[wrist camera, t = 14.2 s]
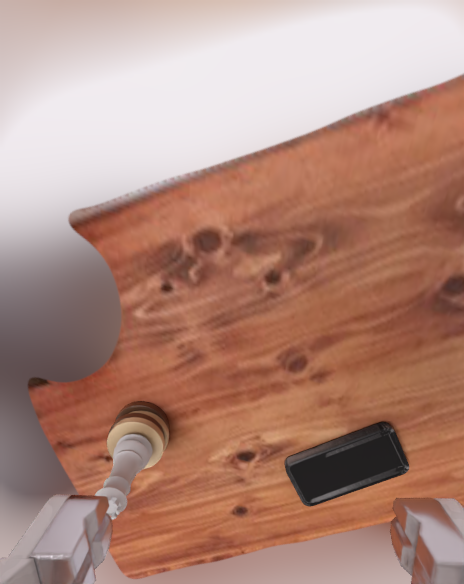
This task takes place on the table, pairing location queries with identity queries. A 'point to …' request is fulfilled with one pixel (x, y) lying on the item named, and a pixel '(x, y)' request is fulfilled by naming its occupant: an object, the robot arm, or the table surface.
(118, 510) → the rook chess piece
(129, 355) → the table surface
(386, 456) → the phone
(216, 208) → the table surface
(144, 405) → the chip pile
